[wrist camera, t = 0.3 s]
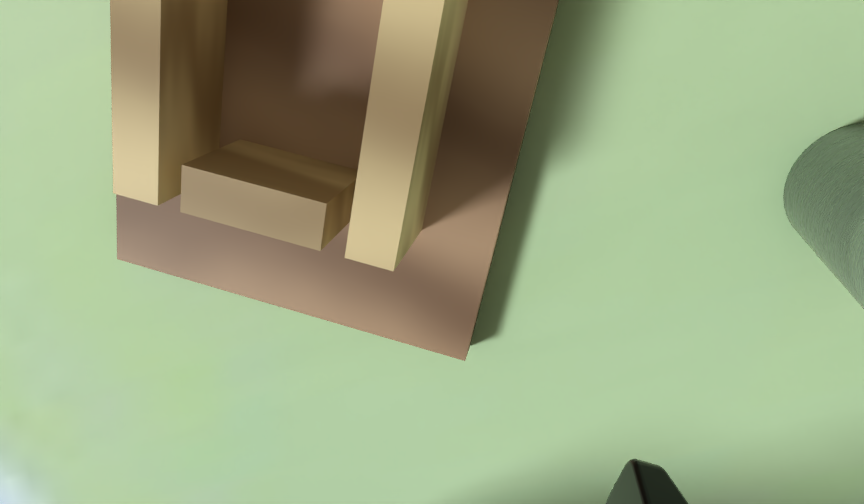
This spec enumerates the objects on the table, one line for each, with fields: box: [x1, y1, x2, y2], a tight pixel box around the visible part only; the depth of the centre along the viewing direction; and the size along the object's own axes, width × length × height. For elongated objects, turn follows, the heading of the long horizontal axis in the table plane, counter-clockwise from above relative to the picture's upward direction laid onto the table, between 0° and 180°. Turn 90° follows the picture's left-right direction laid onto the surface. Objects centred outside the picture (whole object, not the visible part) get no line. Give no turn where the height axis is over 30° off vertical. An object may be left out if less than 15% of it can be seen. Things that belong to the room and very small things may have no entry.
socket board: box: [110, 0, 559, 361], centre depth 19 cm, size 18×14×4 cm
